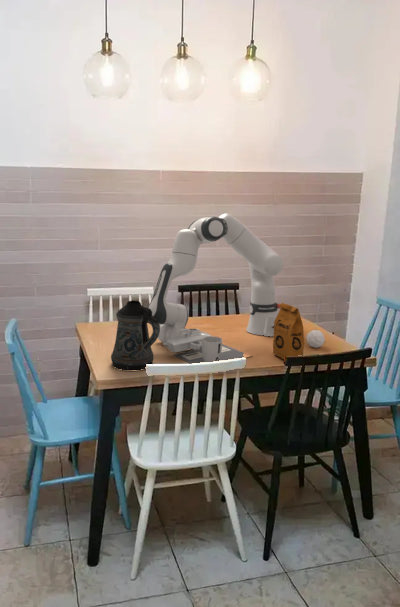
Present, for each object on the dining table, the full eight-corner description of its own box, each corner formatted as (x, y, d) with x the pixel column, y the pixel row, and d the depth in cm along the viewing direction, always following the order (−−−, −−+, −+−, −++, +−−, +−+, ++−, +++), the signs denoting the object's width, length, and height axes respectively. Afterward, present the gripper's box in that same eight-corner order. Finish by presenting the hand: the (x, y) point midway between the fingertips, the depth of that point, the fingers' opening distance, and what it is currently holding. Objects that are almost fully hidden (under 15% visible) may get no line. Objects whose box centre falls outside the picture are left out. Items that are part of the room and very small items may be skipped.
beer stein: (115, 356, 219) (114, 296, 213) (163, 357, 218) (163, 297, 213) (107, 371, 203) (105, 306, 197) (158, 372, 202) (159, 307, 196)
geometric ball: (319, 353, 236) (331, 341, 233) (307, 349, 232) (319, 337, 228) (312, 340, 242) (323, 328, 238) (299, 336, 237) (311, 324, 233)
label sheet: (221, 344, 237) (221, 343, 237) (252, 356, 222) (252, 356, 222) (172, 355, 222) (172, 354, 222) (202, 369, 207) (202, 368, 206)
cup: (219, 368, 208) (220, 343, 205) (199, 366, 209) (199, 341, 207) (223, 361, 215) (223, 337, 213) (203, 359, 217) (203, 335, 214)
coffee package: (285, 364, 214) (288, 310, 209) (269, 354, 225) (271, 303, 220) (306, 361, 218) (310, 308, 213) (289, 351, 229) (292, 301, 224)
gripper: (160, 335, 220) (180, 344, 209) (200, 327, 232) (221, 335, 222) (160, 350, 221) (180, 359, 211) (200, 342, 234) (220, 350, 223)
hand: (201, 347), depth 216 cm, fingers closed
